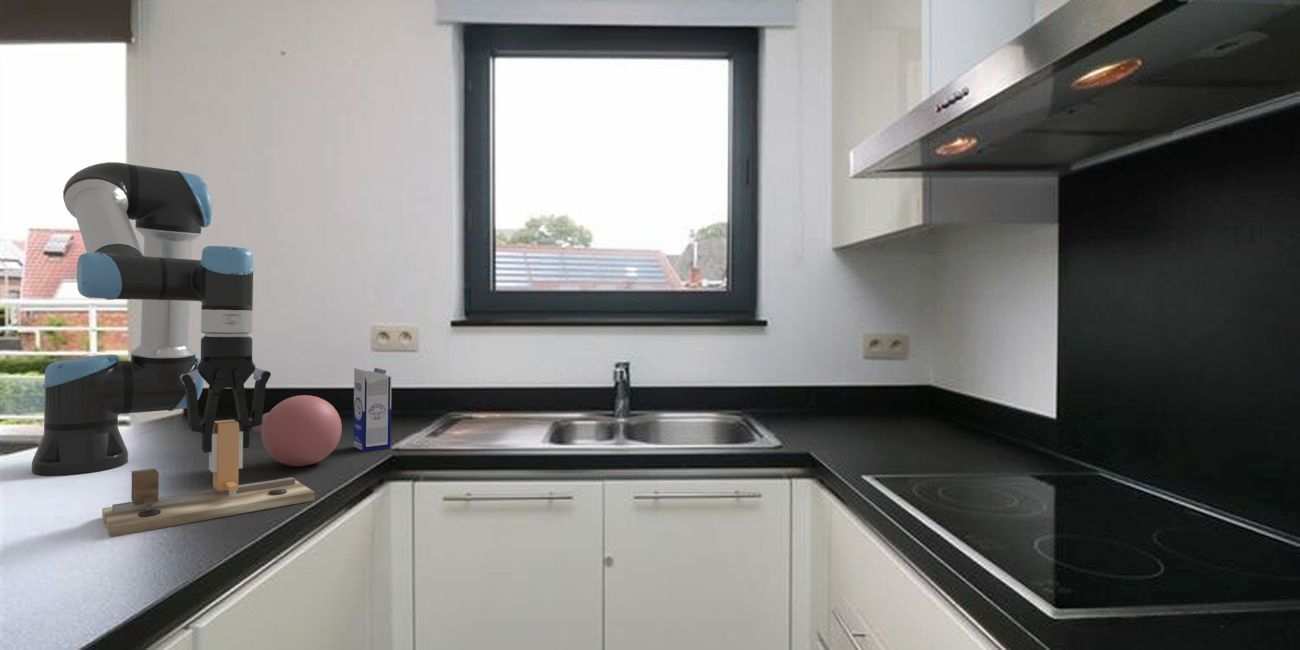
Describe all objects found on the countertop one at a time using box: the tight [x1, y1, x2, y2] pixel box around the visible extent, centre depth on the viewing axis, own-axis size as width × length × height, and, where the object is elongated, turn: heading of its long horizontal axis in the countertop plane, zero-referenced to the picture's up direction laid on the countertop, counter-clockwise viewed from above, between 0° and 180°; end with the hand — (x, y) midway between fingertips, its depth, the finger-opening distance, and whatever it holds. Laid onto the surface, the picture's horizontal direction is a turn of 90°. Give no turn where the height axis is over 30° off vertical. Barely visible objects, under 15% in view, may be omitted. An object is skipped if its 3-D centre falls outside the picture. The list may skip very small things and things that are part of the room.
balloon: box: [249, 394, 343, 467], centre depth 139 cm, size 15×20×15 cm
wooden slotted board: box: [101, 467, 316, 538], centre depth 108 cm, size 12×28×7 cm, turn 135°
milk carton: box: [352, 367, 392, 452], centre depth 158 cm, size 7×7×20 cm
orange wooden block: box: [212, 419, 240, 497], centre depth 109 cm, size 8×3×12 cm, turn 45°
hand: (225, 468), depth 111 cm, fingers closed on orange wooden block, 3 cm apart
